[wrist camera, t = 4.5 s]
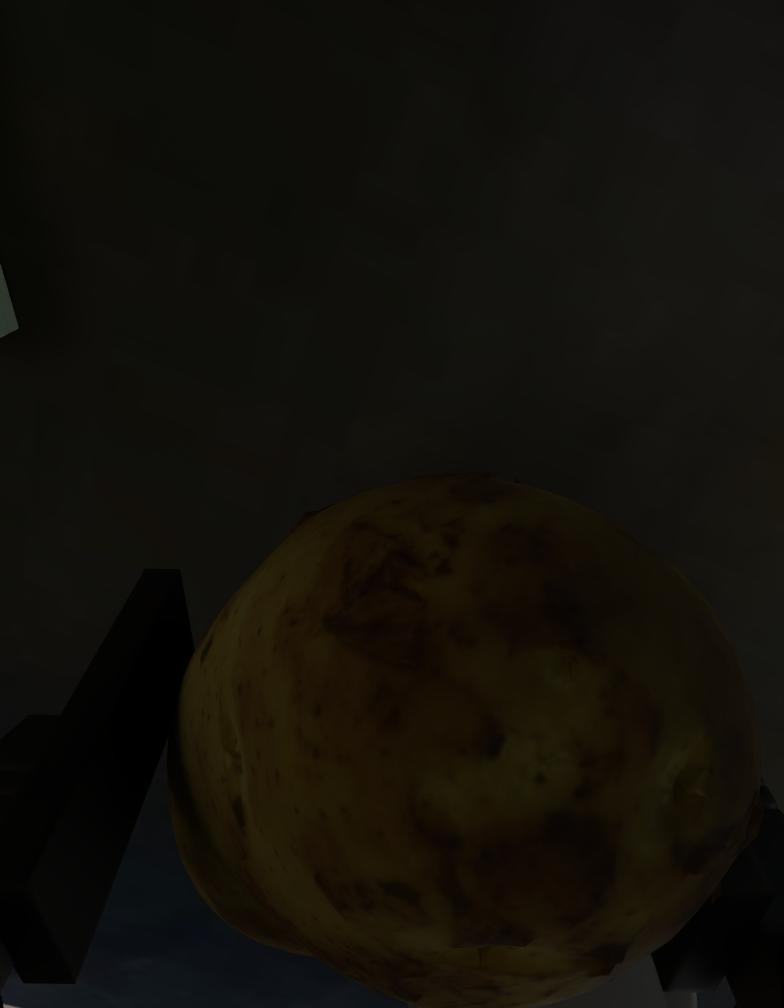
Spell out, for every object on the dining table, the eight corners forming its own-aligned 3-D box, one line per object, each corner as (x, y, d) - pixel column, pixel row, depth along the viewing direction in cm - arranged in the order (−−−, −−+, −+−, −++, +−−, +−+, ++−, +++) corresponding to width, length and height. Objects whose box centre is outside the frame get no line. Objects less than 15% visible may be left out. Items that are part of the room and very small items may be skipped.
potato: (58, 659, 15) (-229, 1105, 8) (471, 285, 10) (625, 558, 4) (307, 812, 18) (256, 1227, 11) (707, 572, 14) (1032, 1015, 7)
